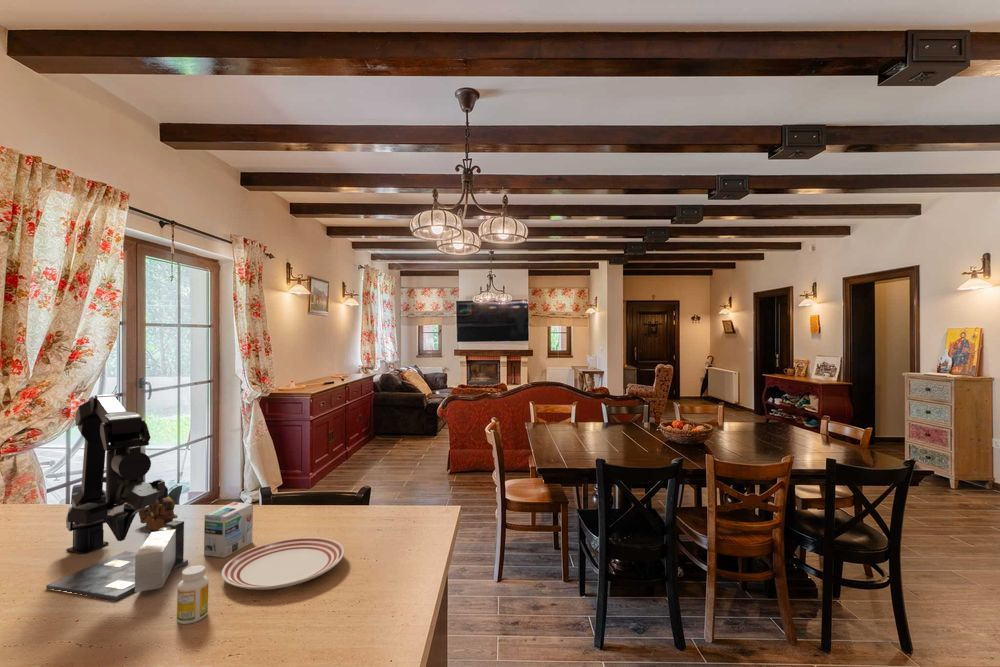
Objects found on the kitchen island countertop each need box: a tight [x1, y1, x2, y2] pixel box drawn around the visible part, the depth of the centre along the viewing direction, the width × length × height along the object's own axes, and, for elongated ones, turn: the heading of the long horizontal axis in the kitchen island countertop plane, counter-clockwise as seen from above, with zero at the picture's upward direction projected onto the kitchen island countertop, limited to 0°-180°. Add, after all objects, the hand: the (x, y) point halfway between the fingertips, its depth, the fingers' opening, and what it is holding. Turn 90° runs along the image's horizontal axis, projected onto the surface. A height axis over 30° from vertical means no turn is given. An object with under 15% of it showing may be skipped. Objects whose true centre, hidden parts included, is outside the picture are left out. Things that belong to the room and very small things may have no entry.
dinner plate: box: [220, 536, 345, 591], centre depth 118 cm, size 27×27×3 cm
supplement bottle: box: [176, 564, 209, 625], centre depth 98 cm, size 5×5×10 cm
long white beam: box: [134, 527, 176, 593], centre depth 113 cm, size 5×16×8 cm, turn 24°
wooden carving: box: [138, 495, 178, 531], centre depth 143 cm, size 16×5×10 cm, turn 67°
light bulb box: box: [203, 501, 254, 559], centre depth 130 cm, size 11×7×11 cm, turn 168°
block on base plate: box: [45, 519, 189, 602], centre depth 115 cm, size 20×19×10 cm
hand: (121, 540), depth 109 cm, fingers closed
